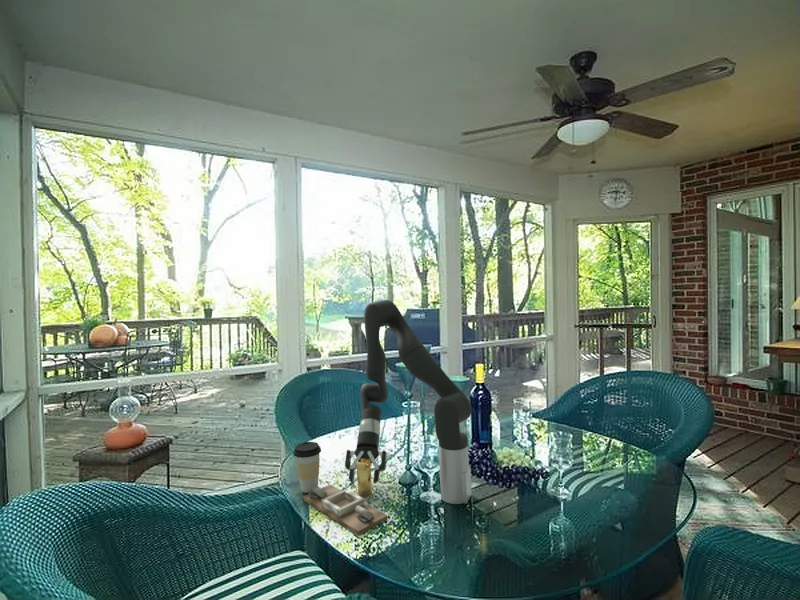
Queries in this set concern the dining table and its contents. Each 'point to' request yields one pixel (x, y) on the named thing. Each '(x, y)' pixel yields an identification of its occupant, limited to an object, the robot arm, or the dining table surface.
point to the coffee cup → (307, 464)
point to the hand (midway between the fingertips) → (363, 482)
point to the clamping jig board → (345, 508)
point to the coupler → (364, 477)
